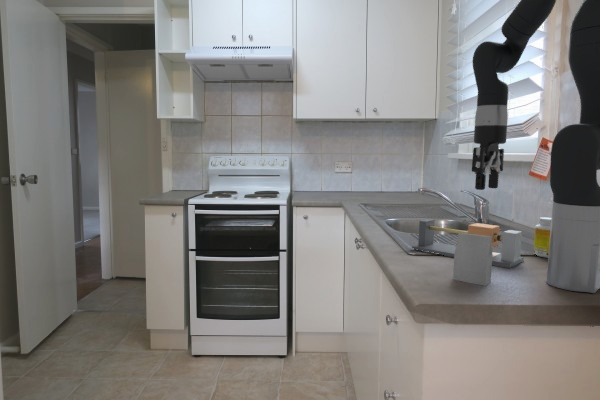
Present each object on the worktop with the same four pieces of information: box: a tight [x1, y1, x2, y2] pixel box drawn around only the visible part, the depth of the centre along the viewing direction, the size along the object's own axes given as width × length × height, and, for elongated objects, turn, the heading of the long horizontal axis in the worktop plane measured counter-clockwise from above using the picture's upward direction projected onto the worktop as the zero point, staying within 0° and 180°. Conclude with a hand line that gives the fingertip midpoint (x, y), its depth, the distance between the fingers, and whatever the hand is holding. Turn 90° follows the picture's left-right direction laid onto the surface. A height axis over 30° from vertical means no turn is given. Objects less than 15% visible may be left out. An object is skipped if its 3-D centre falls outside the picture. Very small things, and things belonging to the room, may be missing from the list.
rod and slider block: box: [411, 218, 525, 269], centre depth 117 cm, size 26×10×8 cm, turn 46°
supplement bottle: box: [532, 216, 552, 259], centre depth 118 cm, size 6×6×10 cm
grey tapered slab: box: [452, 233, 493, 287], centre depth 93 cm, size 4×7×10 cm, turn 53°
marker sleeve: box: [467, 222, 501, 249], centre depth 113 cm, size 6×5×5 cm
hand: (486, 188), depth 112 cm, fingers open, 8 cm apart
